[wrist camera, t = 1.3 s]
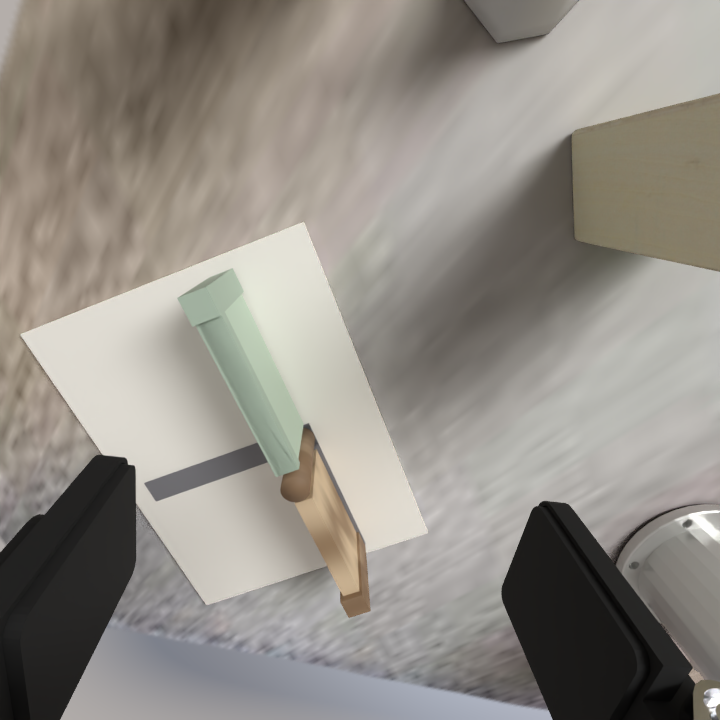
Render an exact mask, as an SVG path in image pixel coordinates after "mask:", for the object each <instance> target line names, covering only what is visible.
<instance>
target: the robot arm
mask: <svg viewBox="0 0 720 720" xmlns="http://www.w3.org/2000/svg"><path fill="white" fill-rule="evenodd" d="M135 563H136V469H135V466H134V465H128V461H127V459H126V458H125V457H116V456H106V455H96V456H95V457H94V458H93V459H92V460H91V461H90V462H89V464H88V465H87V466H86V467H85V468H84V469H83V471H82V472H81V473H80V474H79V475H78V476H77V478H76V479H75V480H74V481H73V482H72V483H71V485H70V486H69V487H68V488H67V489H66V490H65V492H64V493H63V494H62V495H61V496H60V497H59V499H58V500H57V501H56V502H55V503H54V505H53V506H52V507H51V508H50V509H49V510H48V512H47V513H46V514H45V515H40V514H39V515H36V516H34V517H33V518H31V519H30V520H29V521H28V522H27V523H26V524H25V525H24V526H23V527H22V529H21V530H20V531H19V532H18V533H17V534H16V535H15V537H14V538H13V539H12V540H11V541H10V542H9V543H8V544H7V546H6V547H5V548H4V549H3V550H2V551H1V552H0V720H60V719H61V717H62V715H63V713H64V711H65V709H66V707H67V705H68V703H69V701H70V699H71V697H72V695H73V693H74V691H75V689H76V687H77V684H78V683H79V681H80V679H81V677H82V675H83V673H84V670H85V669H86V666H87V665H88V663H89V661H90V659H91V656H92V654H93V653H94V650H95V649H96V646H97V645H98V643H99V640H100V638H101V636H102V634H103V632H104V630H105V628H106V626H107V624H108V622H109V620H110V618H111V616H112V614H113V612H114V610H115V608H116V606H117V604H118V602H119V600H120V598H121V596H122V594H123V592H124V590H125V588H126V586H127V584H128V582H129V580H130V578H131V576H132V574H133V571H134V567H135ZM502 600H503V603H504V606H505V608H506V611H507V613H508V615H509V618H510V620H511V622H512V625H513V627H514V629H515V632H516V634H517V636H518V639H519V641H520V644H521V646H522V648H523V651H524V653H525V655H526V658H527V660H528V662H529V665H530V667H531V670H532V672H533V674H534V677H535V679H536V681H537V684H538V686H539V688H540V691H541V693H542V695H543V698H544V700H545V703H546V705H547V707H548V710H549V712H550V714H551V717H552V719H553V720H720V505H713V504H701V505H694V506H687V507H684V508H680V509H677V510H673V511H671V512H669V513H666V514H664V515H662V516H660V517H658V518H656V519H655V520H653V521H651V522H650V523H648V524H647V525H646V526H644V527H643V528H642V529H641V530H639V531H638V532H637V533H636V534H635V535H634V536H633V537H632V538H631V539H630V540H629V542H628V543H627V544H626V546H625V547H624V549H623V550H622V552H621V553H620V556H619V558H618V561H617V563H616V566H615V564H614V563H613V562H612V560H611V559H610V558H609V556H608V555H607V554H606V552H605V551H604V550H603V548H602V547H601V546H600V545H599V543H598V542H597V541H596V539H595V538H594V537H593V535H592V534H591V533H590V531H589V530H588V529H587V527H586V526H585V525H584V523H583V522H582V521H581V520H580V518H579V517H578V516H577V514H576V513H575V512H574V510H573V509H572V508H571V507H570V506H569V505H568V504H566V503H559V502H549V501H543V502H541V503H540V504H539V506H536V507H534V508H533V510H532V511H531V514H530V517H529V519H528V522H527V524H526V527H525V529H524V532H523V534H522V537H521V540H520V542H519V545H518V547H517V550H516V552H515V555H514V557H513V560H512V563H511V565H510V568H509V570H508V573H507V575H506V578H505V580H504V583H503V586H502ZM660 623H662V624H663V625H664V627H665V628H666V629H667V631H668V632H669V633H670V635H671V636H672V637H673V638H674V640H675V641H676V642H677V644H678V645H679V646H680V648H681V649H682V650H683V652H684V653H685V654H686V656H687V657H688V658H689V660H690V663H689V662H688V660H687V659H686V658H685V656H684V655H683V654H682V652H681V651H680V650H679V648H678V647H677V646H676V644H675V643H674V642H673V641H672V639H671V638H670V637H669V635H668V634H667V633H666V631H665V630H664V629H663V627H662V626H661V625H660ZM692 668H694V670H696V671H697V672H699V673H700V674H701V676H702V677H703V678H704V680H701V681H700V682H698V683H697V684H695V683H694V681H693V680H692V679H691V677H690V676H689V675H688V674H689V673H690V671H691V670H692Z"/></svg>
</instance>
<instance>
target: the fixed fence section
mask: <svg viewBox="0 0 720 720" xmlns="http://www.w3.org/2000/svg"><path fill="white" fill-rule="evenodd" d="M314 445H315V436H314V434H313V432H312V431H311V430H309V429H307V428H303V432H302V438H301V445H300V452H299V458H298V460H299V462H300V466H299V469H298V470H295V471H292V472H289V473H287V474H284V475H283V478H282V483H281V488H280V492H281V495H282V496H283V498H285V499H286V500H288V501H290V502H295V506H296V508H297V509H298V511H299V513H300V515H301V517H302V519H303V521H304V523H305V525H306V527H307V528H308V530H309V532H310V534H311V536H312V538H313V540H314V542H315V544H316V546H317V547H318V549H319V551H320V553H321V555H322V557H323V559H324V561H325V563H326V565H327V566H328V568H329V570H330V572H331V574H332V576H333V578H334V580H335V582H336V584H337V585H338V587H339V589H340V601H341V604H342V606H343V608H344V610H345V612H346V613H347V615H348V617H349V618H350V617H353V616H356V615H360V614H363V613H366V612H369V611H370V599H369V586H368V573H367V560H366V547H365V544H364V542H363V540H362V538H361V536H360V534H359V532H356V531H355V529H354V527H353V524H352V522H351V520H350V518H349V516H348V514H347V512H346V510H345V508H344V506H343V503H342V501H341V499H340V497H339V495H338V493H337V491H336V489H335V487H334V485H333V482H332V480H331V478H330V476H329V474H328V472H327V470H326V468H325V466H324V464H323V462H322V459H321V457H320V455H319V453H318V451H317V449H315V450H314Z"/></svg>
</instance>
